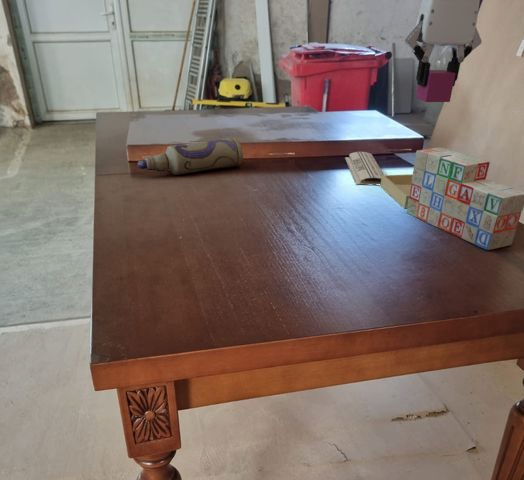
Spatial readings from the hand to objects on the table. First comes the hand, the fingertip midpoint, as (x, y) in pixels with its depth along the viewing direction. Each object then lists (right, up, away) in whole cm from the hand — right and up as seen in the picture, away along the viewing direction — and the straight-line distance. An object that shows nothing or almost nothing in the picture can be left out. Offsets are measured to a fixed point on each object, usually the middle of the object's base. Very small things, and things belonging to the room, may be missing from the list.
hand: (435, 84), depth 102 cm
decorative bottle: (-51, -8, +26) cm, 58 cm away
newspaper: (-8, -7, +28) cm, 30 cm away
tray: (0, -18, +12) cm, 22 cm away
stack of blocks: (+3, -29, -3) cm, 29 cm away
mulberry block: (0, -2, +2) cm, 3 cm away
